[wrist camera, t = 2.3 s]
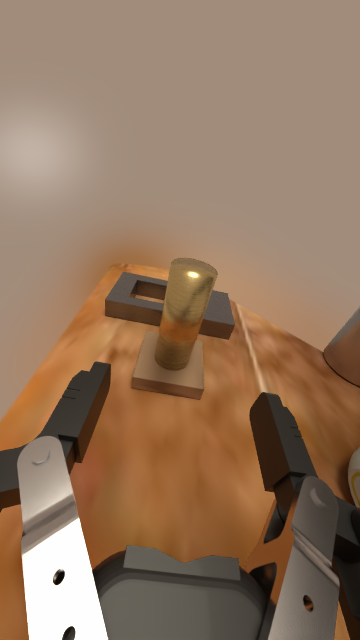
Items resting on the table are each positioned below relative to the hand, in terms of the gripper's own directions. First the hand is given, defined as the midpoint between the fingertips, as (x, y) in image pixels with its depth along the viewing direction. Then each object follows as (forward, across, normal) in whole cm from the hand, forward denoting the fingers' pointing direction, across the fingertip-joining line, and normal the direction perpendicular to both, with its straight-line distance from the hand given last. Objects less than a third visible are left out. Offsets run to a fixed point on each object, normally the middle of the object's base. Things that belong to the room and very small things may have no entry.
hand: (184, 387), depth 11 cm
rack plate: (+25, +1, +12) cm, 28 cm away
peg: (+12, 0, +10) cm, 16 cm away
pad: (+12, 0, +12) cm, 17 cm away
